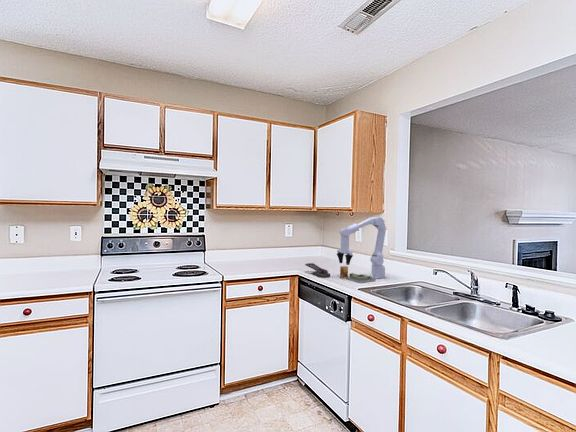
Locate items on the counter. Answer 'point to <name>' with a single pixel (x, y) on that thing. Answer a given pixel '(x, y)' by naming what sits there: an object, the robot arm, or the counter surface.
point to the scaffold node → (360, 278)
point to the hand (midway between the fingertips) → (344, 263)
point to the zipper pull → (318, 271)
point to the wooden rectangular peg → (343, 271)
